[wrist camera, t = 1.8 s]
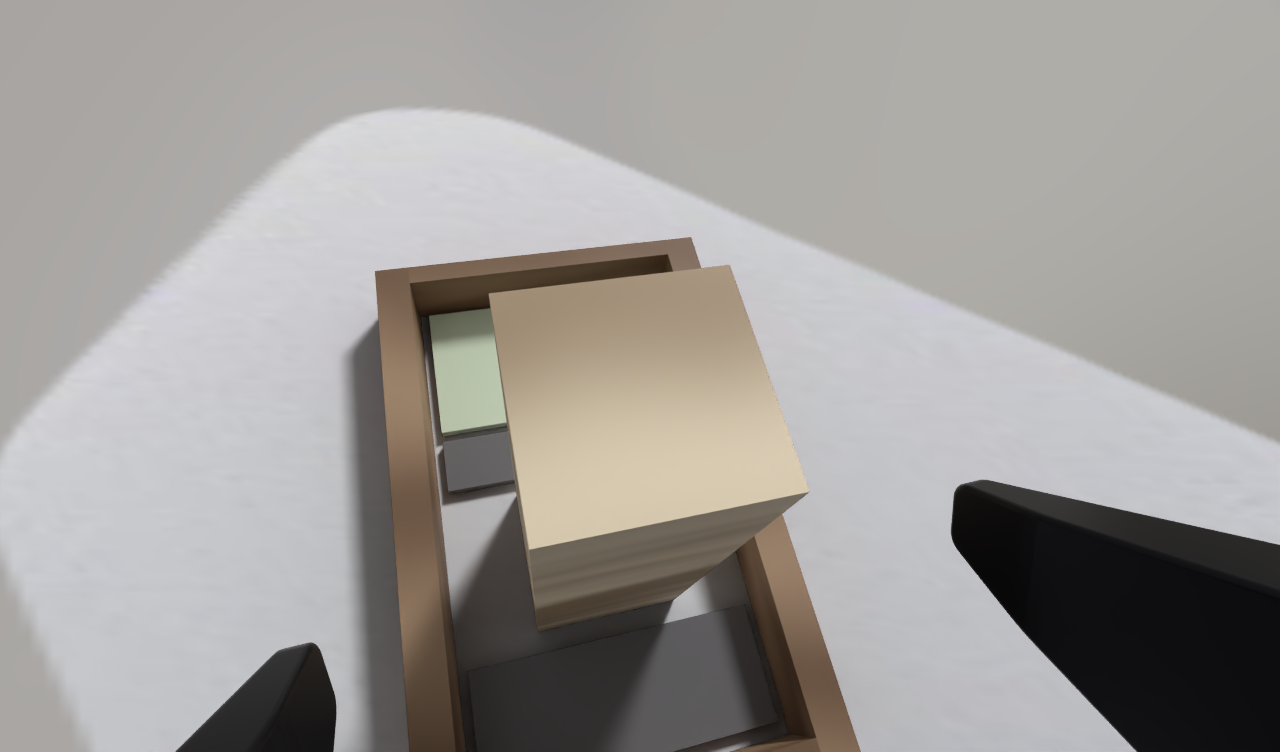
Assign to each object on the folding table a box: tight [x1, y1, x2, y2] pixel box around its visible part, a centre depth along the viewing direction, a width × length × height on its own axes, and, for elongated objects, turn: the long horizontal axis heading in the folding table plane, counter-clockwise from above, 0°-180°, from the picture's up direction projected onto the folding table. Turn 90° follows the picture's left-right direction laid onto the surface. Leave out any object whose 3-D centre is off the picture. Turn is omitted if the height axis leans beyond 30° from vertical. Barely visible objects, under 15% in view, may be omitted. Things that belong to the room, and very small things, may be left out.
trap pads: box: [443, 431, 778, 752], centre depth 19 cm, size 10×8×1 cm
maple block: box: [489, 265, 810, 632], centre depth 14 cm, size 4×4×11 cm
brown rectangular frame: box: [375, 237, 861, 752], centre depth 19 cm, size 16×10×2 cm, turn 14°
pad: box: [429, 308, 507, 436], centre depth 22 cm, size 4×8×1 cm, turn 103°
